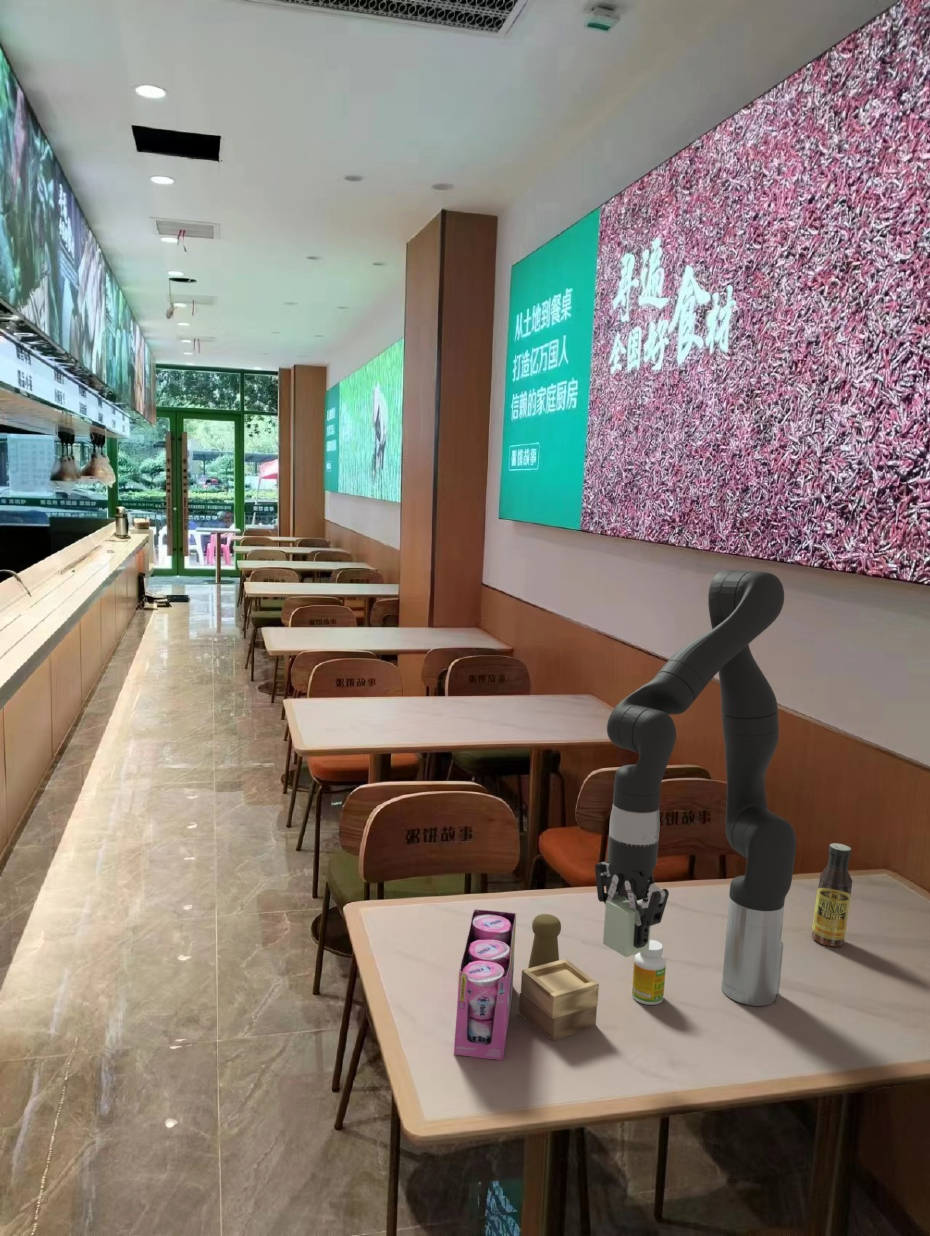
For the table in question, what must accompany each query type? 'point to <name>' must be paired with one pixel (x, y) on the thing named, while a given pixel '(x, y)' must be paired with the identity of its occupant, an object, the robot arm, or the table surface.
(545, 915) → the cork
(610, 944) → the green block
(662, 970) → the supplement bottle
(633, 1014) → the table surface
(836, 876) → the sauce bottle
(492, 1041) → the gum box
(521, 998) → the block bottom
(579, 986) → the block top
